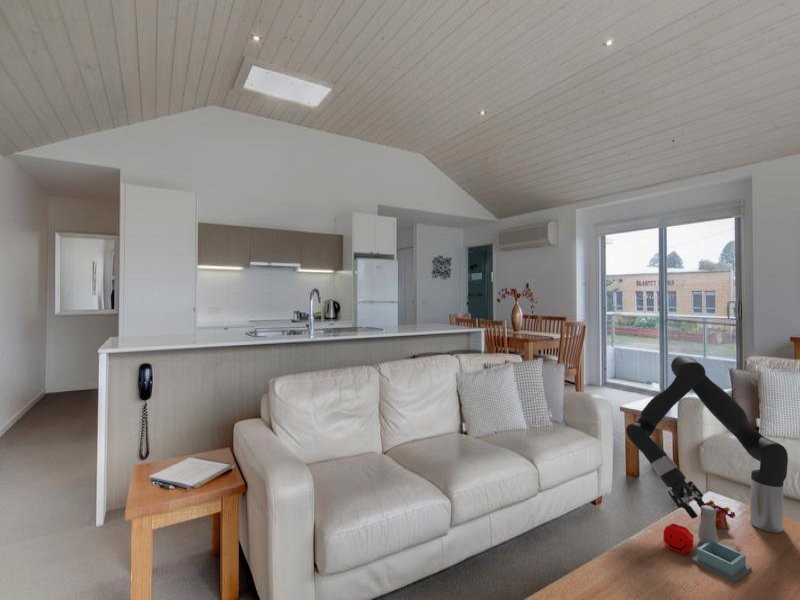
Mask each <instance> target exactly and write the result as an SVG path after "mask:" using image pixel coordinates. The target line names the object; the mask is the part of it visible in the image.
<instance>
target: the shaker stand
mask: <svg viewBox="0 0 800 600" xmlns="http://www.w3.org/2000/svg"><path fill="white" fill-rule="evenodd" d="M696 551H697V553H696V554H695V555H694V556H692V557H691V562H692V563H694V564H696V565H698V566H700V567H702V568H704V569H706V570H708V571H710V572H712V573H715V574H716V575H718V576H720V577H722V578H724V579H727V580H728V581H730V582H732V583H737V582H738V581H739V580H740V579H742V578H743V577H745V576H746V575H747V574H748V573H750V572H751V571H752V568H753V566H751V565H748V564H747V562H746V560H747V556H746V554H744V553H742V552H739V551H737V550H735V549H733V548H731V547H728V546H726V545H723V544H722V543H719V542H715V541H713V540H710V541H709V542H707V543H705V544H702V545H700V546H699V547H697V550H696Z"/></svg>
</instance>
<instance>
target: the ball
mask: <svg viewBox="0 0 800 600" xmlns="http://www.w3.org/2000/svg"><path fill="white" fill-rule="evenodd" d="M662 538H663V543H665V545H666V546H667V548H669V550H670V549H671V550H670V551H673V552H676V553H679V554H681V555H684V554H687V553H690V552H691V551H692V550H693V547H694V535H693V534H692V533H691V531H689V529H688V528H687V527H686V526H684V525H683V526H682V525H680V524H676V523H670V524H669V525H667V526H665V528H664V530H663V537H662Z"/></svg>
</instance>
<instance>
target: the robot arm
mask: <svg viewBox="0 0 800 600" xmlns="http://www.w3.org/2000/svg"><path fill="white" fill-rule="evenodd" d="M670 367H671V371H672V373H673V375H674V376H675V378H674V379H673V381H672V382H671V383H670V385H669V386H668V387H667V388H665V389H664V390H663V391H661V392H660V393H658V394H656V395H655V396H654V397H653V398H652V399H650V401H649V402H648V403H646V405H645V407H644V408H643V409H642V411H641V413H640V417H639V418H638V420H637V421H636V422H635V423H633V422H632V423H629V424H628V425H627V426H626V428H625V433H626V436H627V438H628V439H629V440H630V442H631V443H632V444H633V445H634V446H635V447H636V448H637V449H638V450H639V451H640V452H641V453H642V454H643V455H644V456H645V458H646V460H647V461H648V463H649V464H650V465H651V467H652V468H653V470H654V472H655V473H656V474H657V476H658V477H659V478H660V479H661V481H662V482H663V483H664V486H666V487H667V488H671V489H670V490H668V491H667V493H668V495H669V496H670V498H671V500H672V501H673V502H674V503H675V505H676V506H677V508H679V509H681V508H682V509H684V511H686V513H687V515H688V516H689V517H690V518H691V519H693V520H694V519H696V518H698V514H697V512H696V511H695V510H694V508H693V507H692V506H691V505H690V502H689V499H690V500H693V501H694V502H695V503H696V505H697V506H698V507H699V508H700V509H701V506H703V505H706V504H705V503H706V502H704V501H703V497H704V494H703V493H702V492H701V491H700V489H699V488H698V487H697V486H696V484H694V482H693V481H692V480H689V481H688V482H686V476H685V474H684V473H683V472H682V471H681V469H680V468H679V467H678V466H677V464H676V463H675V462H674V460H672V458H671V457H670V456H669V455H668V454H667V452H665V450H664V449H663V448H662V447H661V445H660V444H659V443H657V442H655V441H654V440H653V439H652V438H651V436H652V435H653V433H654V431H655V430H656V428H657V427H658V425H659V424H660V422H661V421H662V420H664V418H665V416H666V415H667V414H668V413H669V412H670V410H672V408H673V407H674V406H675V405H676V404H677V403H678V402H679V401H680V400H681V399H682V398H684V397H685V396H686V395H687V394H688V393H689V392H691V391H693V392H694V393H695V395H696V396H697V397H698V398H699V400H700V401H701V403H702V404H703V405H704V406H705V408H707V410H708V411H709V412H710V413H711V414H712V416H714V417H715V418H716V420H718V421H719V422H720V423H721V425H723V426H724V427H725V428H726V430H728V431H729V432H730V433H731V434H732V435H734V437H735V438H736V439H737V440H738V442H739V443H740V444H741V446H742V448H744V450H745V451H746V452H747V453H748V455H750V456H751V457H752V458H753V459H755V460H756V461H759V463H760V464H759V469H753V470H752V471H750V473H751V476H750V517H749V518H750V520H749V521H750V523H751V525H752V526H754V527H756V528H757V529H760V530H762V531H765V532H768V533H769V532H770V533H773V534H776V533H777V534H778V533H779V534H780V533H782V532H783V526H784V521H783V520H784V482H785V480H786V479H787V474H788V464H789V455H788V451H787V449H786V448H785V446H784V445H783V444H780V443H779V442H776V441H774V440H771V439H769V438H768V437H765V436H764V435H762V433H760V432H759V431H758V430H757V429H755V428H754V427H753V426H752V424H751V423H750V422H749V418H748V415H747V413H746V412H745V410H744V409H743V408H742V406H741V405H740V404H739V403H738V402H737V401H736V400H735V399H734V398H733V397H732V396H730V395H729V393H727V392H726V391H725V390H724V389H722V388H721V387H720V386H719V385H717V384H716V383H715V382H714V381H712V380H711V379H710V378H709V377H708V376H707V374H706V369H705V367H704V366H703V365H702V364H701V363H700V362H698V361H697V360H696V359H695V358H693V357H690V356H685V355H680V356H676V357H675V358H673V360H672V361H671V364H670Z"/></svg>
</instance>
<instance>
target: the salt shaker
mask: <svg viewBox="0 0 800 600" xmlns="http://www.w3.org/2000/svg"><path fill="white" fill-rule="evenodd" d="M701 512H702V513H703V514H702V518H701V517H700V523H699V527H698V532H697V537H698V538H699V540H700V542H701V544H702V545H704V544H705V543H707V542H709V541H710V540H713V541H715V542H717V543H719V537H718V531H717V529H716V526H715V521H714V516H715V514H716V511H715V509H714V508H713V507H711V506H707V505H703V506H701V508H700V513H701Z"/></svg>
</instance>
